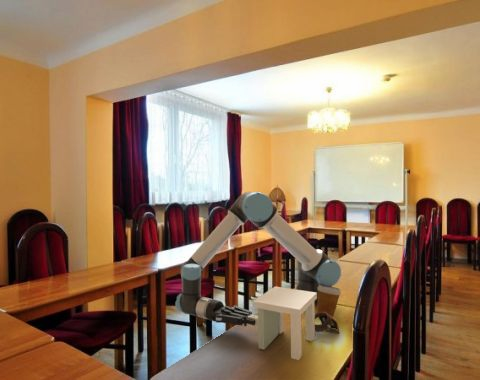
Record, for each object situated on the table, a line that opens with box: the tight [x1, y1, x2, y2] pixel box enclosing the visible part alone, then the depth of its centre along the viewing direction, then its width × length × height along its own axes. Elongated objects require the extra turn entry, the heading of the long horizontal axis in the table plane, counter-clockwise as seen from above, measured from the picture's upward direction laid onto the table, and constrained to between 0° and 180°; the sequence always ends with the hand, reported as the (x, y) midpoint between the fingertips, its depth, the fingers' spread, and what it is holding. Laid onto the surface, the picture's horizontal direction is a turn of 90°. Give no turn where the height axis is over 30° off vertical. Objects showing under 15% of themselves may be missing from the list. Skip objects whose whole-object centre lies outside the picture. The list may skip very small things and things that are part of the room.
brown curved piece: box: [315, 310, 341, 335], centre depth 120 cm, size 12×10×8 cm
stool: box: [252, 286, 317, 361], centre depth 110 cm, size 18×16×16 cm
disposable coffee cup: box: [316, 285, 342, 317], centre depth 133 cm, size 10×10×12 cm
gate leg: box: [257, 308, 279, 350], centre depth 112 cm, size 13×2×13 cm, turn 151°
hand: (265, 323), depth 112 cm, fingers closed, pressing on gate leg
